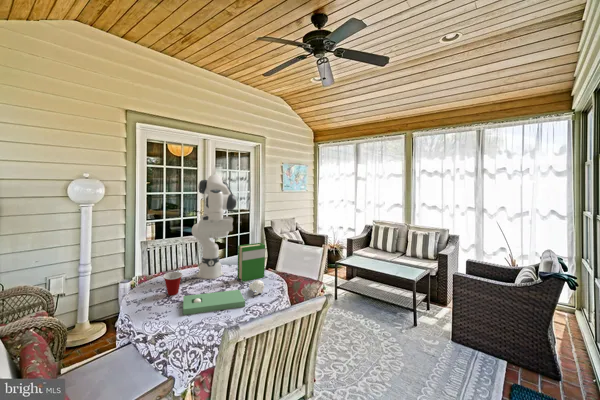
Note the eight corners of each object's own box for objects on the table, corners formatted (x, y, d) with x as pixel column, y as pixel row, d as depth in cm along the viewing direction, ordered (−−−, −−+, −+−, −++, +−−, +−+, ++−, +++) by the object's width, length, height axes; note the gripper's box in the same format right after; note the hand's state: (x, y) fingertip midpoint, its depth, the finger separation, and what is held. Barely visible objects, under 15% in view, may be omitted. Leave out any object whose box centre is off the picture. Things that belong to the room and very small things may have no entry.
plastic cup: (160, 297, 169) (160, 277, 168) (165, 290, 180) (165, 272, 179) (180, 296, 171) (180, 277, 170) (184, 290, 182) (184, 271, 181)
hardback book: (242, 281, 199) (242, 247, 197) (237, 278, 205) (237, 245, 203) (264, 277, 210) (264, 244, 208) (259, 274, 216) (259, 242, 214)
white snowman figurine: (256, 282, 174) (245, 278, 183) (257, 296, 174) (246, 292, 183) (265, 280, 179) (254, 276, 187) (265, 293, 179) (254, 290, 187)
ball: (200, 304, 162) (193, 304, 161) (201, 297, 162) (194, 297, 161) (200, 307, 159) (193, 307, 157) (201, 300, 159) (194, 300, 157)
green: (183, 301, 166) (183, 296, 165) (239, 294, 178) (239, 289, 177) (183, 314, 149) (183, 309, 149) (245, 306, 161) (245, 301, 161)
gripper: (232, 215, 180) (232, 237, 181) (197, 216, 173) (197, 238, 174) (233, 216, 175) (233, 239, 176) (198, 217, 167) (198, 241, 168)
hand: (215, 239), depth 175 cm, fingers closed
